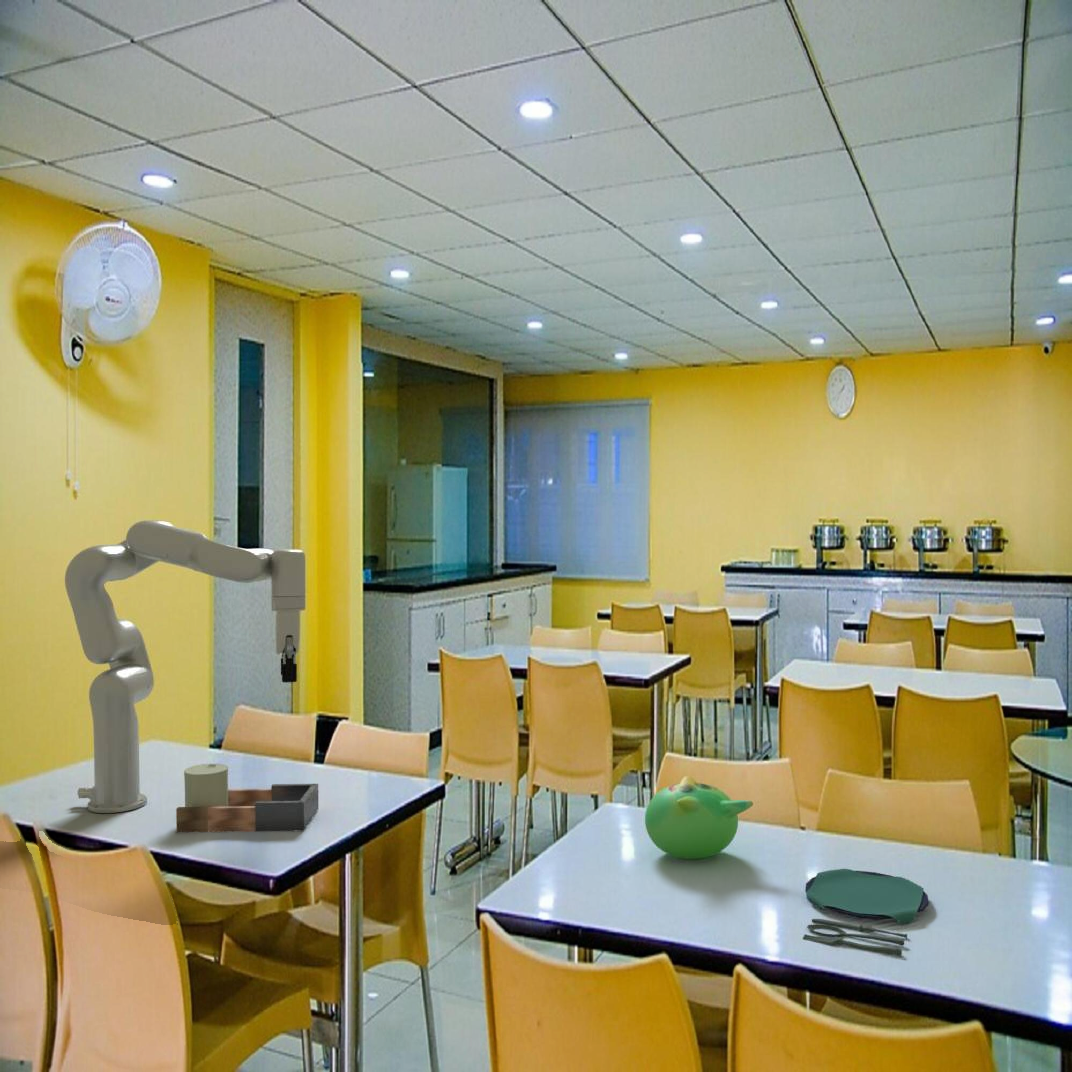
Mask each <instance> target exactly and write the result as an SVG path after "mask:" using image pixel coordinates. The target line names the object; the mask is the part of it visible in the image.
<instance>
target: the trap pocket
mask: <svg viewBox="0 0 1072 1072" xmlns="http://www.w3.org/2000/svg"><path fill="white" fill-rule="evenodd" d="M270 789H271V794H272V801H257V802H256V803H255V830H256V831H255V832H295V831H294V830H304V831H305V830H306V829H307V827H308V826H309V825H310V823H311V822H312V820H313V819H312V817H313V816H314V815H315V814H316V815H317V813H318V812H317V810H318V809H319V783H273V784H272V785H271V788H270ZM319 810H320V809H319ZM319 810H318V811H319ZM316 812H317V813H316ZM316 815H315V816H316ZM315 816H314V817H315ZM314 817H313V818H314ZM311 819H312V820H311ZM310 821H311V822H310ZM309 822H310V823H309ZM308 824H309V825H308ZM307 825H308V826H307ZM306 826H307V827H306ZM305 828H306V829H305Z"/></svg>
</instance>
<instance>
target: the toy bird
mask: <svg viewBox="0 0 1072 1072" xmlns="http://www.w3.org/2000/svg"><path fill="white" fill-rule="evenodd" d="M753 805H754V802H753V801H752V800H749V799H748V800H747V799H736V800H735V799H734V800H731V798H730V797H729V796H728V795H727V794H726V793H725V792H724V791H722V790H721V789H719V788H718V787H715V786H714V785H710V784H707V783H703V782H698V781H697V782H696V780H695V779H694V778H693V777H692V776H691V775H685V776H684V777H682V779H681V780H680V782H679V783H678V782H677V783H675V784H671V785H669V786H666V787H664V788H662V789H661V790H659V791H658V792H657V793H656V794H655V795H654V796H653V797H652V798H651V800H650V801H649V803H648V805H647V807H646V809H645V814H644V824H645V828H646V829H645V830H646V832H647V834H648V836H649V839H650V840H651V841H652V843H653V844H654V845H655V846H656V848H658V849H659V850H660V851H662V852H664V853H666V854H667V855H670V856H672V857H676V858H679V859H684V860H685V859H686V860H699V859H705V858H710V857H712V856H715V855H717V854H719V853H720V852H722V851H724V850H725V849H726V848H727V847H728V846H729V845H730V844H731V842H732V841H733V839H735V836H736V834H737V831H738V828H739V827H738V826H739V818H738V817H739V816H738V815H739V814H742V813H743V812H745V811H747V810H749V809H750V808H751V807H753Z"/></svg>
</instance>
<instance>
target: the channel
mask: <svg viewBox="0 0 1072 1072" xmlns="http://www.w3.org/2000/svg"><path fill="white" fill-rule="evenodd" d="M257 801H272V794H271V788H228V806H222V807H185V806H178V807H177V808H176V809H175V812H176V814H175V815H176V816H175V817H176V818H175V819H176V833H227V832H228V831H232V832H233V831H245V832H257V831H256V830H255V803H256V802H257ZM208 831H209V832H208ZM213 831H214V832H213ZM218 831H219V832H218ZM221 831H222V832H221ZM223 831H224V832H223ZM226 831H227V832H226ZM232 832H231V833H232ZM228 833H229V832H228ZM233 833H234V832H233Z"/></svg>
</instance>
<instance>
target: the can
mask: <svg viewBox="0 0 1072 1072" xmlns="http://www.w3.org/2000/svg"><path fill="white" fill-rule="evenodd" d="M183 775H184V807H222V806H228V789H229V780H228V778H229V767H228V765H227V764H222V763H205V764H198V765H193V766H189V767H187V768H185V769H184V770H183Z"/></svg>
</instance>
